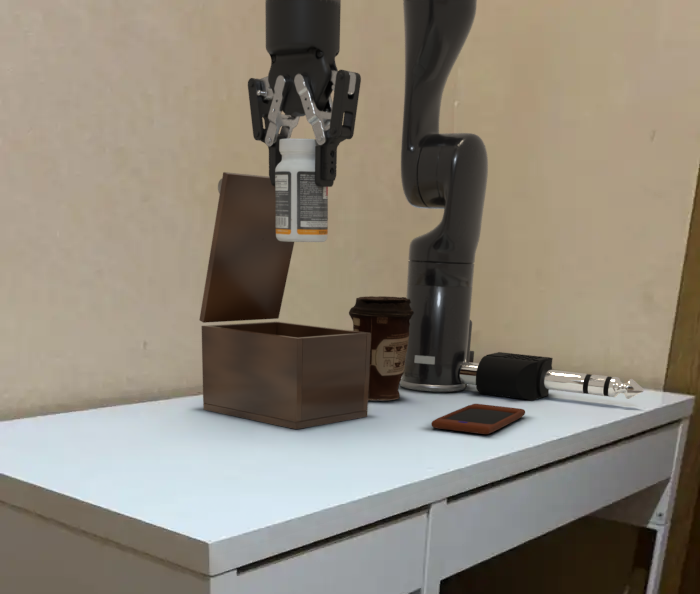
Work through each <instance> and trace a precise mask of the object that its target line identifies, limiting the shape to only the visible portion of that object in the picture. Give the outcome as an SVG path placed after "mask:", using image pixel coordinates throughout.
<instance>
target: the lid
mask: <svg viewBox="0 0 700 594" xmlns="http://www.w3.org/2000/svg"><path fill="white" fill-rule="evenodd" d="M217 191H218V194H219V195H218V196H219V197H218V202H217V210H216V213H215V215H216V216H215V221H214V227H213V234H212V239H211V244H210V251H209V258H208V264H207V270H206V276H205V282H204V288H203V296H202V303H201V308H200V312H199V313H200V314H199V319H198V320H199V321H200V322H202V323H203V324H204V323H222V322H223V323H225V322H241V321H242V322H243V321H258V320H277V319H279V318H280V313H281V308H282V303H283V300H284V294H285V289H286V284H287V280H288V276H289V275H288V274H289V270H290V265H291V261H292V255H293V250H294V246H295V242H287V241H279V240H278V239H277V238H276V195H275V186H273V185H272V184H271V180H270V177H269V175H268V176H266V175H258V174H257V175H256V174H247V173H236V172H228V171H227V172H226V171H224V172H222V178H220V179H219V181H218V183H217Z"/></svg>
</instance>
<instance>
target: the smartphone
mask: <svg viewBox="0 0 700 594" xmlns="http://www.w3.org/2000/svg"><path fill="white" fill-rule="evenodd" d="M525 415H526V410H525V409H523V408H519V407H509V406H500V405H499V406H498V405H494V404H493V405H492V404H483V403H472V404H468V405H466V406H464V407H461V408H459V409H457V410H454V411H451V412H449V413H447V414H444V415H442V416H439V417H438V418H435V419H434V420H431V424H430V425H431V427H432V428H434V429H438V430H439V429H440V430H448V431H456V432H462V433H463V432H464V433H471V434H480V435H489V434H491V433H494V432H496V431H498V430H500V429H502V428H504V427H506V426H508V425H510V424H511V423H514V422H515V421H517V420H519V419H521V418H522V417H524V416H525Z"/></svg>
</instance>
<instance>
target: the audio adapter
mask: <svg viewBox="0 0 700 594" xmlns="http://www.w3.org/2000/svg"><path fill="white" fill-rule="evenodd" d="M459 378H460V382H461V383H462V384H467V385H469V386H470V385H471V386H475V387H476V390H477V392H478V394H481V395H489V396H496V397H505V398H511V399H518V400H519V399H520V400H527V401H535V400H539V399H543V398H544V397H547V396H549V391H557V392H558V391H559V392H568V393H575V394H581V395H582V394H585V395H592V396H599V397H609V398H616V397H618V396H619V394H623V395H624V396H625V398H626V400H630V399H632V398H634V397H636V396H638V395H640V394H642V393H643V392H644V388H643V387H642V386H641V385H640V384H639V383H638V382H637V381H635V380H634V379H633V378H630V379H628V381H627V382H622V381H621V379H620V377H618V376H609V375H603V374H602V375H601V374H594V373H593V374H590V373H585V372H576V371H565V370H556V369H553V357H549V356H539V355H530V354H520V353H513V352H512V353H511V352H504V351H503V352H502V351H498V352H494V353H489V354H486V355H484V356H483V357H482V358H480V360H479V362H473V363H472V362H464V363H463V364H462V366H461V369H460V374H459Z"/></svg>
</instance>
